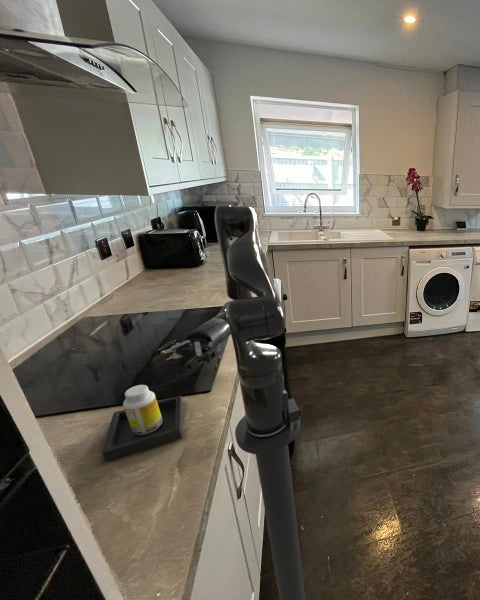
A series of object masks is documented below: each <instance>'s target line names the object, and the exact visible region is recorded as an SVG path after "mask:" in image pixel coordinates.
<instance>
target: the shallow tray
mask: <svg viewBox="0 0 480 600" xmlns="http://www.w3.org/2000/svg"><path fill="white" fill-rule="evenodd" d="M157 403H158V406H159V410H160V413H161V416H162V420H163V421H162V424H161V426H160V427H159V428H158V429H156V430H155V431H153V432H151V433H149V434H145V435H136V434H134V433H133V431H132V429H131V426H130V423H129V421H128V418H127V415H126V412H125V410H124V409H122V410H118V411H114V412H113V414H112V418H111V420H110V424H109V427H108V431H107V434H106V437H105V442H104V445H103V447H102V452H101V454H102V457H103V459H104V461H105V463H106V462H110V461H114V460H117V459H120V458H123V457H126V456H128V455H129V456H130V455H133V454H137V453H139V452H142V451H145V450H150V449H152V448H156V447H159V446H162V445H165V444H169V443H172V442H175V441H178V440H181V439H183V415H184V402H183V399H182V395H176V396H173V397H169V398H165V399H161V400H157Z"/></svg>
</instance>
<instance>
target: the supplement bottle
mask: <svg viewBox="0 0 480 600" xmlns="http://www.w3.org/2000/svg"><path fill="white" fill-rule="evenodd" d="M124 397H125V399H124V400H123V403H122V406H123V410H125V412H126V415H127V418H128V421H129V423H130V426H131V429H132V431H133V433H134V434H136V435H145V434H149V433H151V432H153V431H155V430H156V429H158V428H159V427H160V426H161V424H162V421H163V420H162V416H161V413H160V410H159V406H158V403H157V401H158V400H157V397H156V394H155V392H153V391H151V390H149V387H148V386H147V385H146V384H138V385H134V386H132V387H130V388H128V389H127V390H126V391H125V392H124Z"/></svg>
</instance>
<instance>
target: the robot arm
mask: <svg viewBox="0 0 480 600" xmlns="http://www.w3.org/2000/svg"><path fill="white" fill-rule="evenodd" d="M214 225H215V231H216V236H217V242H218V247H219V252H220V256H221V260H222V264H223V270H224V276H225V287H226V288H225V289H226V296H227V297H228V299H231V300H229V301H226V302H225V303H224V304H223V306H222V307H221V309H220V311H219V312H218V313H217V315H215V316H214V317H212V318H211V319H209V320H207V321H206V322H204V323H203V324H201V325H199V326H198V327H197V328H195V329H193V330H192V331H190V333H189V334H188V336H187V338H186V339H185V340H184V341H181V342H177V341H176V339H171V340H169V341H168V342H167V343H164V344H163V345H161V346H160V347H158V348H157V349H156V350H155V353H156V357H154V358H153V359H151V361H150V364H151V367H152V369H158V368H159V367H161V366H162V365H163V364H165V363H167V361H170V360H172V359H174V360H178V359H181V358H183V357H185V358H186V357H187V358H190V359H188V360H187V361H186V362H185V363H184V370H185V371H186V372H190V371H192V370H194V369H195V368H196V367H197V366H199V365H201V364H203V363H205V362H206V364H210V363H211V362H213V361H214V360H215V358H217V357H218V356H219V355H220V354H221V352H222V348H221V344H222V343H223V342H225V341H226V340H227V338H228V337H229V336H231V340H232V344H233V350H234V355H235V361H236V368H237V372H238V380H239V385H240V391H241V392H240V393H241V397H242V403H243V410H244V416H246V421H247V430H248V433H249V434H250V435H251V436H252V437H254V438H258V439H265V438H270V437H273V436H276V435H278V434H279V433H281V432H282V431H283V430H284V429H285V428H286V427H288V426H290V425H291V423H292V422H295V421H298V420H300V421H301V416H302V414H303V410H302V408H301V407H298V405H297V403H296V400H295V398H294V397H293V398H289V395H288V392H287V390H286V387H285V385H286V384H285V377H284V367H283V358H282V357H283V355H282V352H281V350H280V348H278V347H277V346H274V345H273V344H269V343H261V342H257V341H263V340H268V339H273V338H276V337H279V336H282V335H283V334H284V333H285V331H286V325H287V322H286V320H287V319H286V314H285V311H284V310H285V309H284V307H283V305H282V302H281V299H280V297H279V294H278V292H277V289H276V287H275V284H274V281H273V278H272V274H271V270H270V266H269V262H268V258H267V254H266V251H265V248H264V245H263V242H262V238H261V234H260V228H259V221H258V217H257V214H256V212H255V210H254V208H252V207H250V206H247V205H234V204H233V205H229V204H219V205H217V206H216V207H215V210H214ZM231 238H233V239H235V238H236V239H235V240H234V241H233V242H232V243H231V241H230V239H231ZM252 293H253V294H254V295H255V296H253V294H252ZM177 349H178V353H177Z"/></svg>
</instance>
